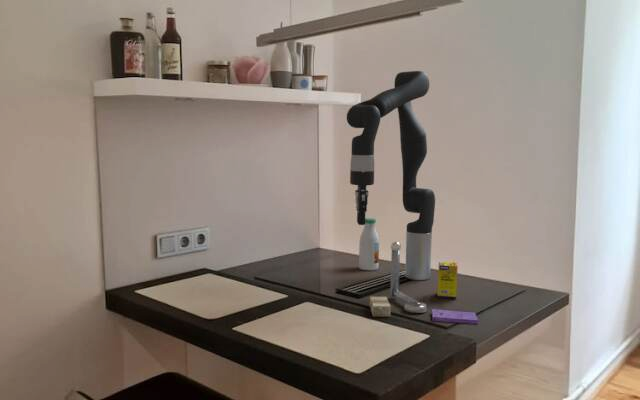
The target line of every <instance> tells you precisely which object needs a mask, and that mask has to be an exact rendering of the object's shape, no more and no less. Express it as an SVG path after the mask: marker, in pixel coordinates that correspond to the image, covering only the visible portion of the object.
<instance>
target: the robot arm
mask: <svg viewBox="0 0 640 400" xmlns="http://www.w3.org/2000/svg"><path fill="white" fill-rule="evenodd" d="M393 84H394V85H393V86H394V87H393V88H390V89H387V90H384V91H382V92H380V93H378V94H376V95H375V96H374V97H372V98H370V99H367V100H364V101H361V102H358V103H356V104H354V105H352V106H351V107H350V108H349V109H348V110H347V113H346V121H347V124H348V125H349V126H350V127H351V128H354V129H363V130H362V132H361V134H359V135H356V136H354V137H352V139H351V157H350V162H349V163H350V167H349V168H350V170H349V173H350V174H349V179H350V180H349V183H350V185H352V186H357V189H355V191H354V195H355V204H356V206H355V208H356V215H357V216H356V222H357V224H358V226H364V225H365V218H366V213H367V212H368V207H367V206H368V203H369V202H368V200H369V198H368V197H369V191H368V189H367V186H373V185H374V184H375V155H374V154H375V141H376V137H377V133H378V131H379V130H378V129H379V126H380V124H381V123H380V122H381V118H384V117H385V116H387V115H388V114H390V113H391V112H393V111H394V110H396V109H397V114H398V122H399V124H398V125H399V137H400V151H401V161H402V163H401V164H402V205H403V208H404V210H405V211H406V212H408V213H413V214H419V216H418V218H417V219H416V220H415V221H410V222H409V223H407V224H406V233H405V234H406V236H405V237H406V238H405V239H406V240H405V241H406V242H405V263H404V264H405V269H404V277H405V278H407V279H409V280H414V281H423V280H424V281H425V280H429V279H430V278H431V267H432V265H431V263H432V241H433V239H432V234H433V226H434V221H435V220H434V219H435V209H436V196H435V192H434V191H433V190H432V189H430V188H420V187H418V188H417V176H418V172H419V169H420V168H421V166H422V164H423V163H424V160H425V159H426V157H427V154H428V144H427V143H428V142H427V133H426V132H425V129H424V128H423V126H422V124H421V123H420V122H419V120H418V118H417V117H416V115H415V113H414V111H413V107H412V103H411V101H414V100H416V99H419V98H423V97H424V96H426V95H427V93H428V92H429V89H430V78H429V76H428V74H427V73H426V72H425V71H422V70H412V71H411V70H409V71H401V72H398V73H397V74H396V75H395V78H394V83H393Z"/></svg>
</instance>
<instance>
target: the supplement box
mask: <svg viewBox="0 0 640 400" xmlns="http://www.w3.org/2000/svg"><path fill="white" fill-rule="evenodd" d="M437 273H438V274H437V275H438V276H437V277H438V278H437V294H436V295H437V298H438V299H446V300H447V299H448V300H449V299H450V300H456V299H457V286H458V285H457V284H458V283H457V282H458V281H457V280H458V262H451V261H438V272H437Z"/></svg>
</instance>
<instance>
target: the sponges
mask: <svg viewBox="0 0 640 400" xmlns="http://www.w3.org/2000/svg"><path fill="white" fill-rule="evenodd" d="M431 315H432V321H433V322H443V323H445V322H446V323H455V324H456V323H458V324H472V325H478V324H479V319H478V317H477V315H476V312H471V311H470V312H469V311H468V312H467V311H456V310H444V309H436V308H434V309H433V308H432V309H431Z"/></svg>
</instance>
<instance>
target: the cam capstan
mask: <svg viewBox="0 0 640 400" xmlns="http://www.w3.org/2000/svg"><path fill="white" fill-rule="evenodd" d="M401 248H402V245H401V243H400V242H399V241H393V242H392V243H391V244H390V249H391V260H390V261H391V263H390V264H391V265H390V266H391V267H390V289H389V290H390V293H389V294H390V297H393V298H397V297H398V298H400V299H402V300H404V301H405V303H404V311H405V312H407V313H410V314H412V313H413V314H424V313H425V312H427V304H426V303H424V302H420V301H418V300H417V299H415V298H413V297H411V296H409V295H408V294H406V293H403V292H402V291H400V289H399V287H400V260H401V258H400V257H401V256H400V255H401Z"/></svg>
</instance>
